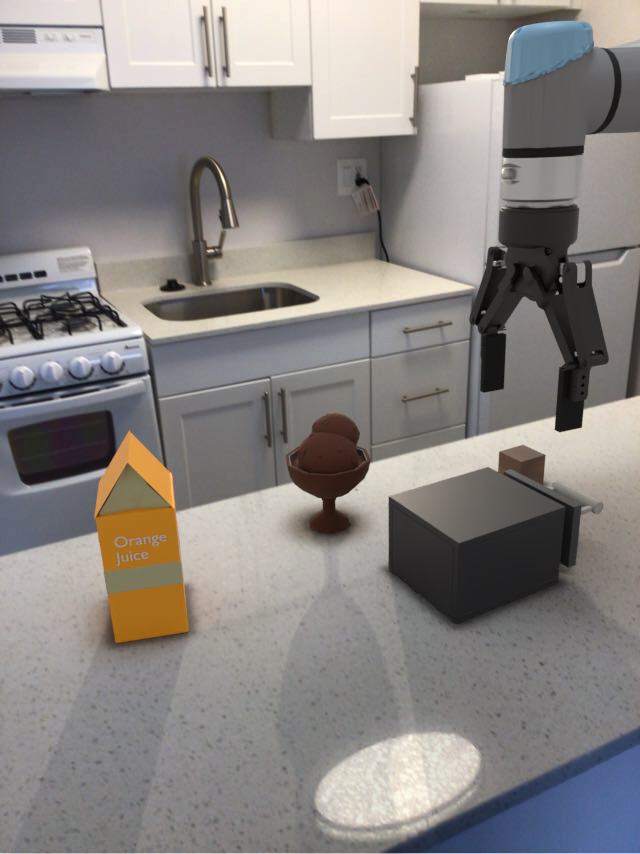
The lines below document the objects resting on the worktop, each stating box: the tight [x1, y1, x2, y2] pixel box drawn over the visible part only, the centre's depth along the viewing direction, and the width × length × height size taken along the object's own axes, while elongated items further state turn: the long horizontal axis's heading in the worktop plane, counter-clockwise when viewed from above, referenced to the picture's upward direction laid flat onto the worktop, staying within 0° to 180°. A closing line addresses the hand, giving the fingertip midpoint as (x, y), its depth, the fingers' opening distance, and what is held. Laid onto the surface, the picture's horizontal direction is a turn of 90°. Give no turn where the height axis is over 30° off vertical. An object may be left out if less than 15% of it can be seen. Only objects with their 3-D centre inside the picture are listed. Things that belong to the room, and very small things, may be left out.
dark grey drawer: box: [504, 469, 604, 569], centre depth 89 cm, size 20×11×8 cm, turn 119°
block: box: [497, 444, 546, 485], centre depth 109 cm, size 5×5×5 cm
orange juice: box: [93, 429, 190, 644], centre depth 79 cm, size 8×9×20 cm
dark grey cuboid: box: [388, 466, 565, 624], centre depth 86 cm, size 15×13×10 cm
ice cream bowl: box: [284, 412, 372, 534], centre depth 98 cm, size 11×11×15 cm
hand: (527, 408), depth 81 cm, fingers open, 13 cm apart
